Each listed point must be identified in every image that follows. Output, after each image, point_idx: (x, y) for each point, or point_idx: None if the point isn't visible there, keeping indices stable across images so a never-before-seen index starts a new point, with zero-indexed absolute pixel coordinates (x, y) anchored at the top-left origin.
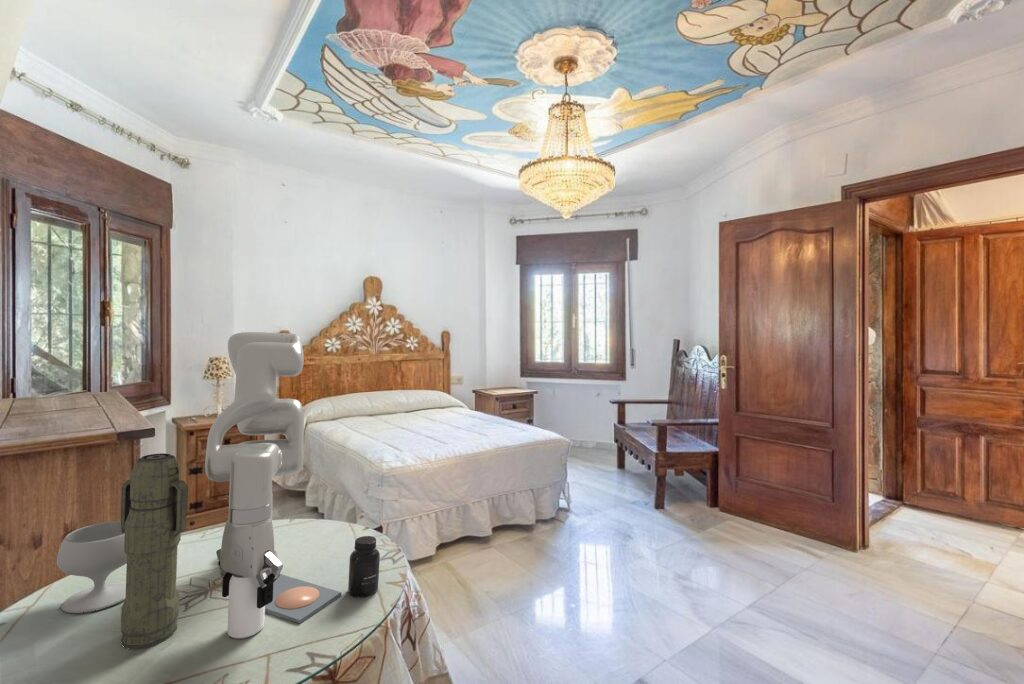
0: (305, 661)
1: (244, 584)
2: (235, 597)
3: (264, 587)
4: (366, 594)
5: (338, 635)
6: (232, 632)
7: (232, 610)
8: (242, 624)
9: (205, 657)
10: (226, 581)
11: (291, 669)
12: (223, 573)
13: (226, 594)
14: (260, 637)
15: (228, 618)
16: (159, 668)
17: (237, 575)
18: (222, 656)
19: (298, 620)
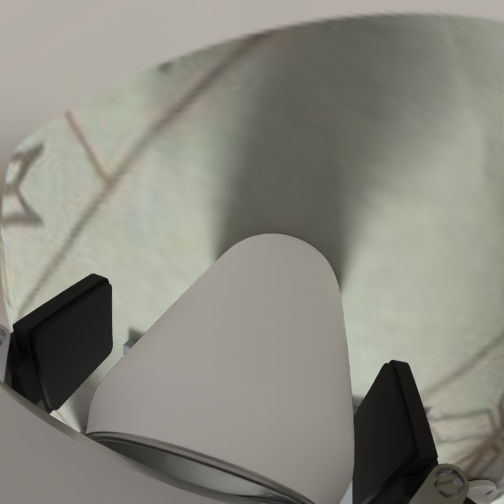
0: (28, 189)
1: (123, 380)
2: (229, 308)
3: (12, 341)
4: (81, 430)
5: (32, 296)
6: (281, 238)
7: (273, 273)
8: (229, 253)
9: (305, 113)
10: (400, 439)
11: (36, 152)
12: (442, 485)
13: (383, 375)
14: (191, 261)
15: (316, 271)
16: (414, 42)
17: (239, 483)
18: (245, 132)
19: (130, 346)
